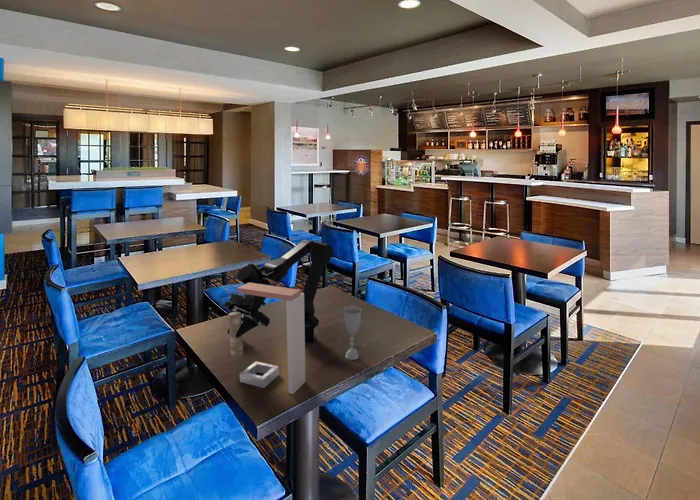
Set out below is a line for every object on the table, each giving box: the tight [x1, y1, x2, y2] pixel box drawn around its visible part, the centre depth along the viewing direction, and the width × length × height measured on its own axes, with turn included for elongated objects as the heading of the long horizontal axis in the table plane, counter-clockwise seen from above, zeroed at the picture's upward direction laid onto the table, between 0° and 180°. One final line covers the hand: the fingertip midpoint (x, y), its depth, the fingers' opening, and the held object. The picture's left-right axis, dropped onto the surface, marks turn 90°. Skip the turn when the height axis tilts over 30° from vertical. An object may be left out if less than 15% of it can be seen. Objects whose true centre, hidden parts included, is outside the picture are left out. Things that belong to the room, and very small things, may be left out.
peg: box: [228, 312, 244, 357], centre depth 143 cm, size 4×4×14 cm
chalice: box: [342, 305, 363, 360], centre depth 154 cm, size 7×7×18 cm
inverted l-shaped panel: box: [237, 282, 306, 395], centre depth 135 cm, size 8×19×32 cm, turn 67°
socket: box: [239, 360, 280, 389], centre depth 140 cm, size 9×9×3 cm
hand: (232, 335), depth 142 cm, fingers closed on peg, 4 cm apart
